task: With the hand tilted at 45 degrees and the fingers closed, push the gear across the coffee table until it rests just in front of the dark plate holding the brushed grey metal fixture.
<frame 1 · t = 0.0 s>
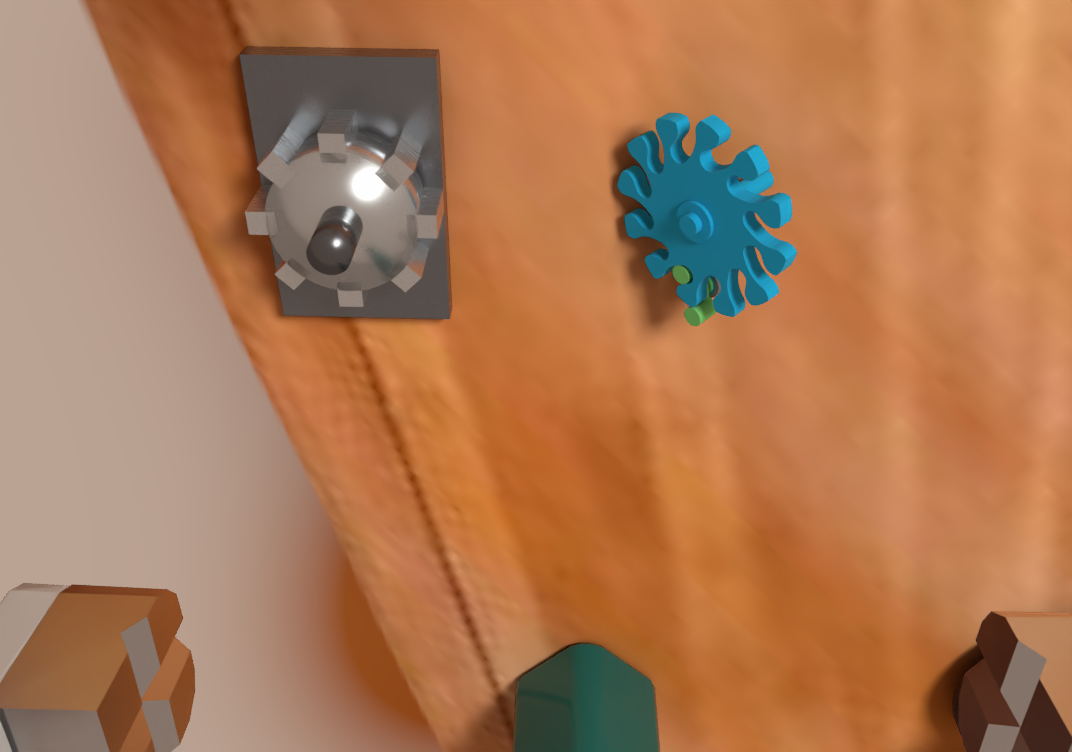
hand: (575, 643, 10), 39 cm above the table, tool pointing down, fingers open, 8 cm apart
grey metal fixture: (357, 187, 49), on the table
green bottle: (578, 677, 72), on the table
gear: (693, 191, 49), on the table
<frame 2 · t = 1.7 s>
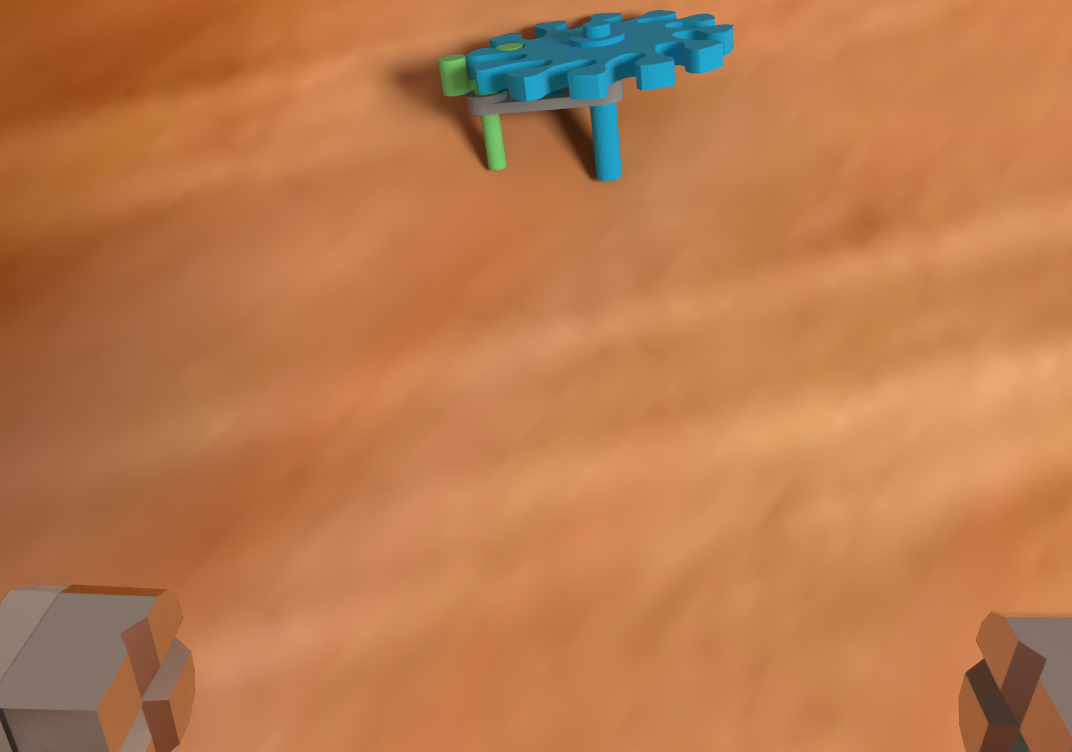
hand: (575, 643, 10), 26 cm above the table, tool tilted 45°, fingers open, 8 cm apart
gear: (583, 108, 40), on the table
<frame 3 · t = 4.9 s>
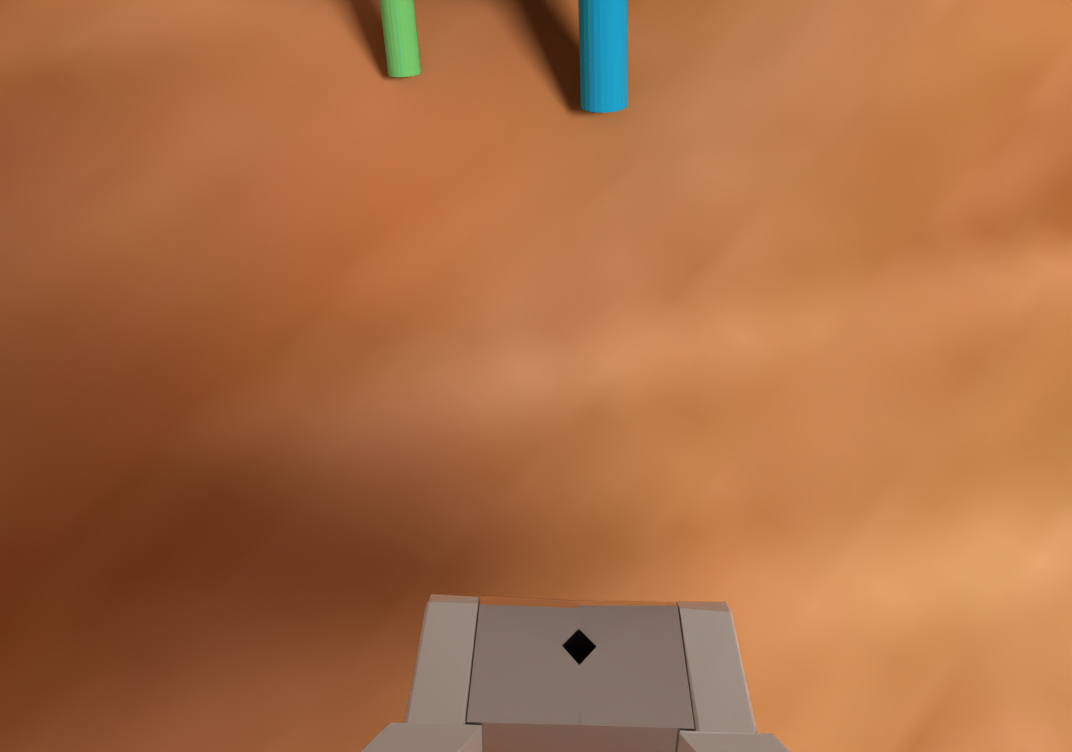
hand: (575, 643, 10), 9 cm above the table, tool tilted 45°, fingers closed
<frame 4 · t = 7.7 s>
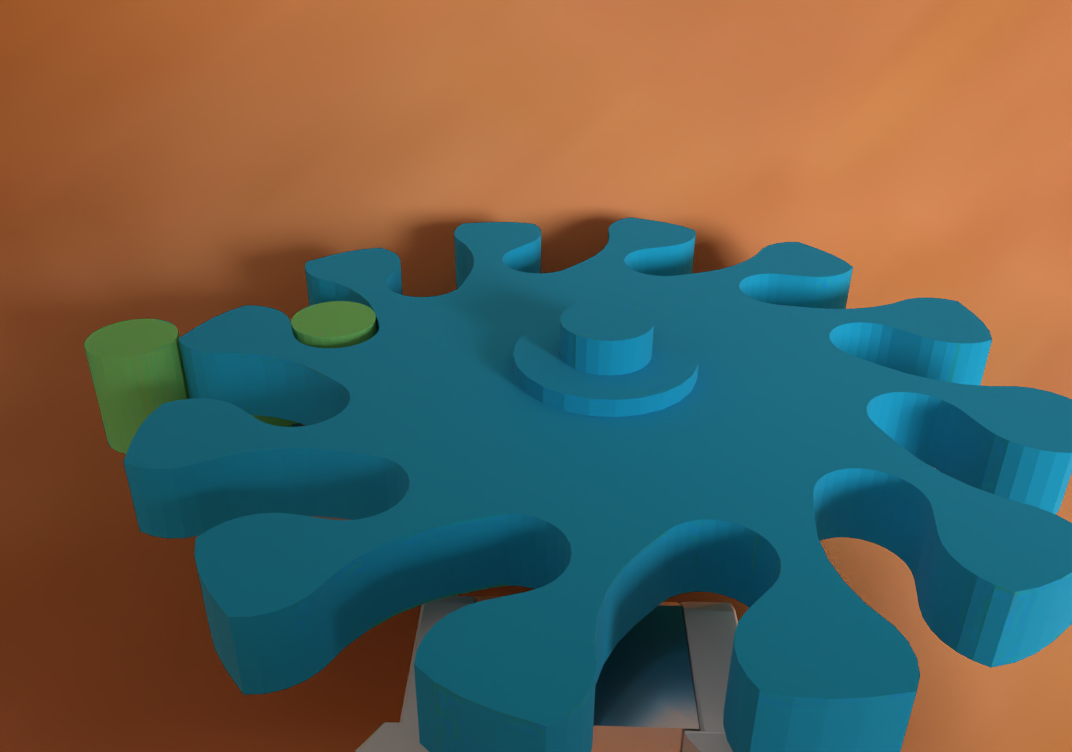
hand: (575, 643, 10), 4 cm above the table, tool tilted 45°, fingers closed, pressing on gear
gear: (554, 466, 15), on the table, touching gripper
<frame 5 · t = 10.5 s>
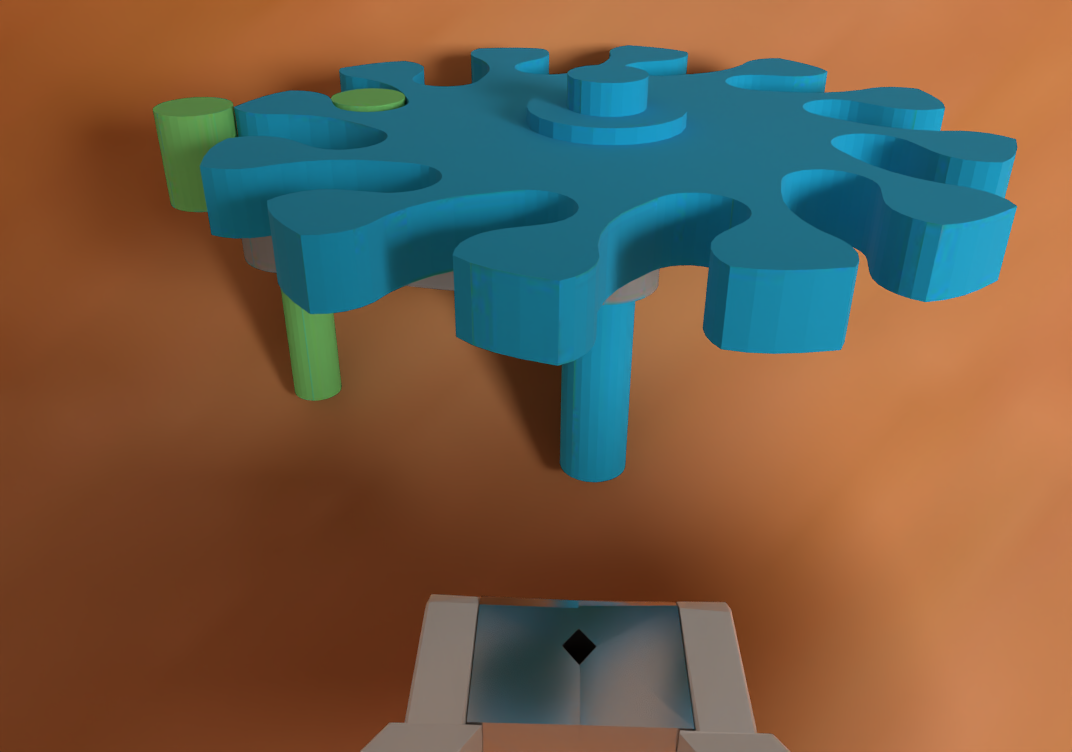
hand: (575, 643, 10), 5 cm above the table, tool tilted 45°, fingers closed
gear: (561, 267, 17), on the table
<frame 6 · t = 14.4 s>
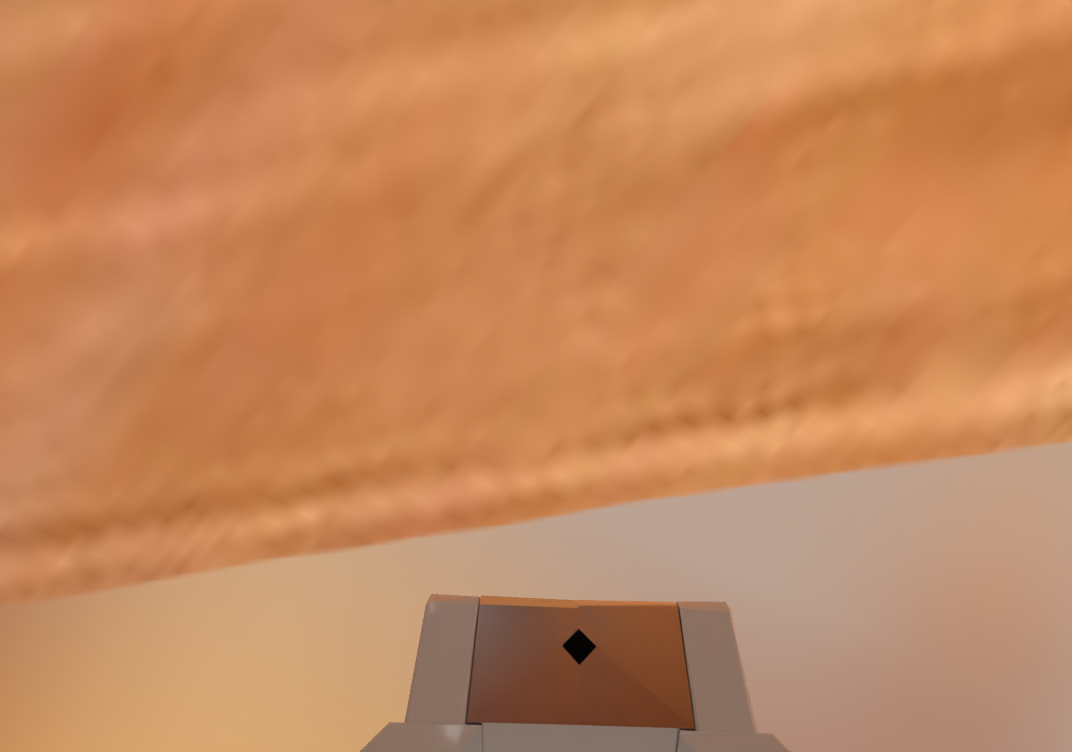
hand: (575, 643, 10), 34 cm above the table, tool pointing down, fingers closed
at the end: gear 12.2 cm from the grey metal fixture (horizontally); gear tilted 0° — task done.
